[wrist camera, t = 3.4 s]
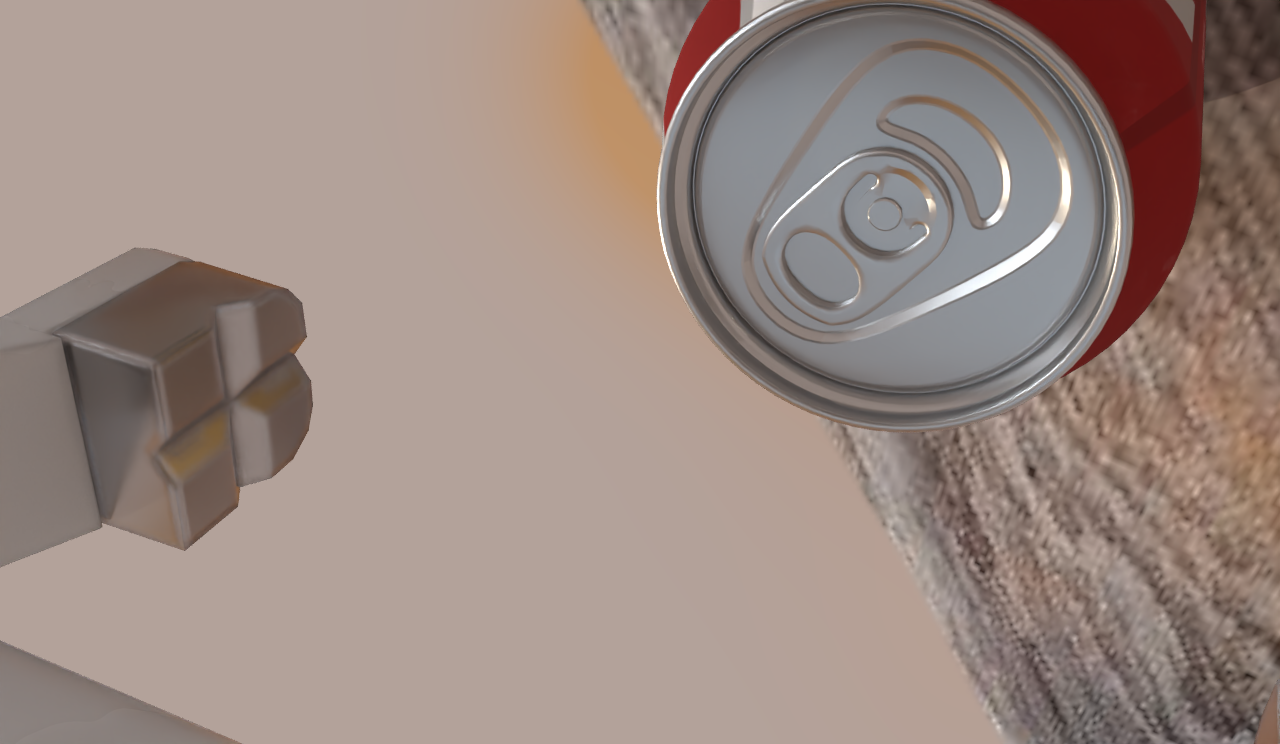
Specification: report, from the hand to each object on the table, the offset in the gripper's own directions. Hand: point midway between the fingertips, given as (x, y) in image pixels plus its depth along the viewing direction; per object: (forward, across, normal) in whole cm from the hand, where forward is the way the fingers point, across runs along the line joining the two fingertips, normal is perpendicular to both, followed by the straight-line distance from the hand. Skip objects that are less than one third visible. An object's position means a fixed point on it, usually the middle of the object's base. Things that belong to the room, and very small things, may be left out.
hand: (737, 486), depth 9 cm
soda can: (+18, 0, 0) cm, 18 cm away
